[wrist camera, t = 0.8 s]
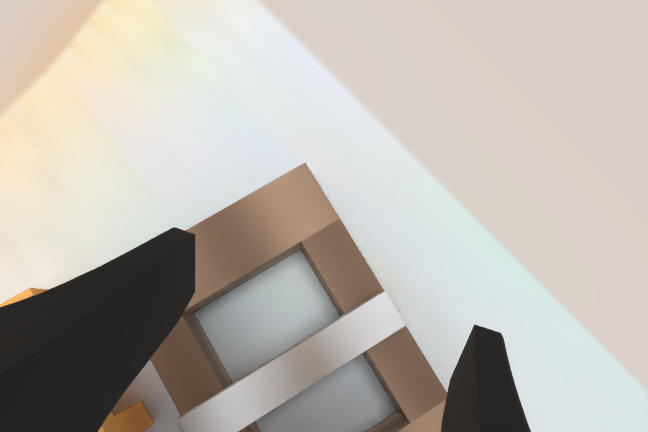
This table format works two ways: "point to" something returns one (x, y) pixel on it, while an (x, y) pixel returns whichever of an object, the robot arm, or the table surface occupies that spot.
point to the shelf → (335, 271)
